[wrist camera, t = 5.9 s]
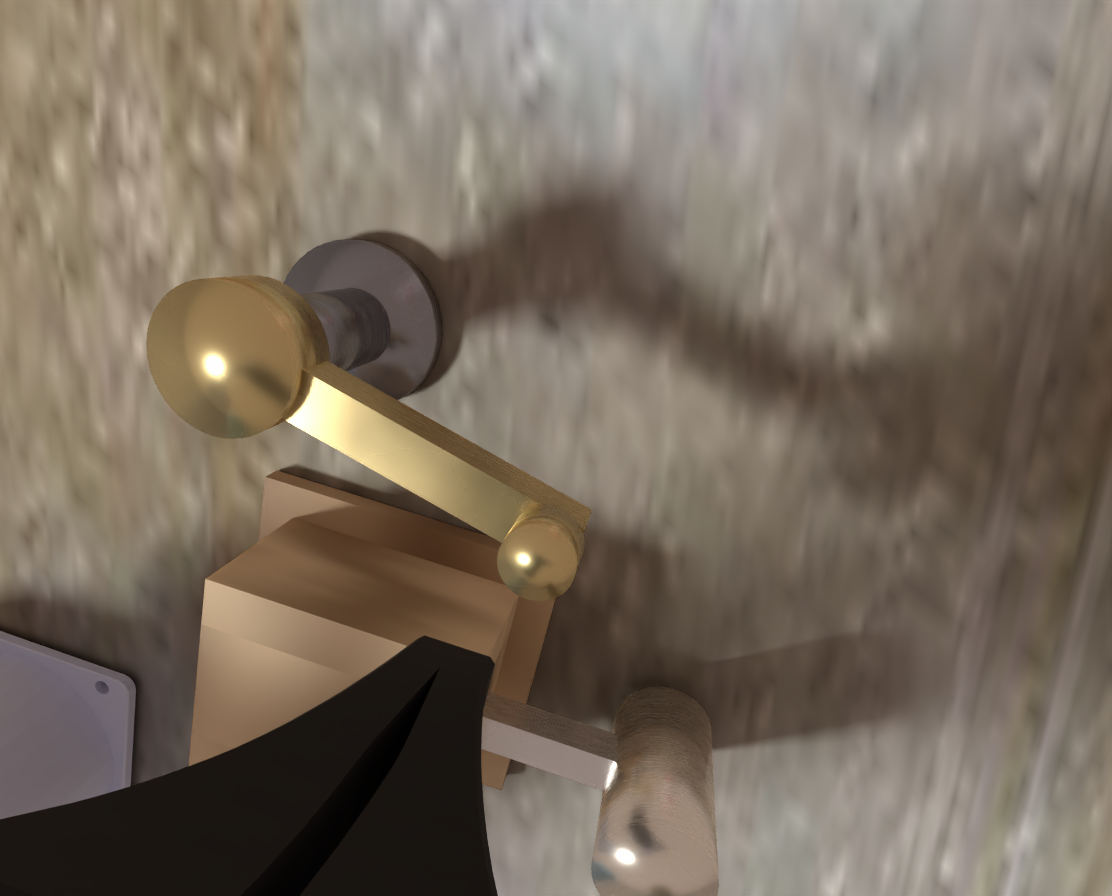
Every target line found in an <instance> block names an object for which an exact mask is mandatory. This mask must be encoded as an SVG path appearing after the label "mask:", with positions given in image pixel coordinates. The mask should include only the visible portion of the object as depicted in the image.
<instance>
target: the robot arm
mask: <svg viewBox="0 0 1112 896" xmlns="http://www.w3.org/2000/svg"><path fill="white" fill-rule="evenodd" d="M494 667H495V664H494V662H493V660H492V659H491V657H489V656H486V655H483V654H480V653H477V652H474V651H471V650H468V649H465V648H462V647H459V646H456V645H453V644H450V643H447V642H443V641H440V640H437V639H434V638H431V637H428V636H425V635H424V636H422V637H420V638H418V639H416V640H415V641H414V642H412V643H411V644H410V645H408V646H407V647H406V648H404V649H403V650H401V651H400V652H399V653H397V654H396V655H395V656H393V657H392V658H390V659H389V660H388V661H386V662H385V663H383V664H382V665H380V666H379V667H378V668H376V669H375V670H373V671H372V672H370V673H369V674H367V675H366V676H364V677H363V678H361V679H360V680H358V681H356V682H355V683H353V684H352V685H350V686H349V687H347V688H346V689H344V690H343V691H341V692H339V693H338V694H336V695H335V696H333V697H331V698H330V699H328V700H326V701H324V702H323V703H321V704H319V705H317V706H316V707H314V708H312V709H310V710H309V711H307V712H305V713H303V714H302V715H300V716H298V717H296V718H295V719H293V720H291V721H289V722H287V723H285V724H283V725H281V726H280V727H278V728H276V729H274V730H272V731H270V732H268V733H266V734H264V735H262V736H260V737H257V738H255V739H253V740H251V741H249V742H247V743H244V744H242V745H240V746H238V747H236V748H233V749H231V750H229V751H226V752H224V753H222V754H219V755H217V756H214V757H212V758H209V759H206V760H204V761H201V762H199V763H196V764H193V765H191V766H188V767H185V768H183V769H180V770H178V771H175V772H172V773H170V774H167V775H164V776H161V777H158V778H155V779H152V780H149V781H146V782H142V783H139V784H136V785H133V786H131V770H132V752H133V734H134V717H135V699H136V688H135V684H134V682H133V680H132V679H131V678H130V677H128V676H126V675H124V674H121V673H119V672H116V671H113V670H110V669H107V668H104V667H102V666H99V665H96V664H93V663H90V662H87V661H84V660H82V659H79V658H76V657H73V656H70V655H67V654H65V653H62V652H59V651H56V650H53V649H50V648H48V647H45V646H42V645H39V644H36V643H33V642H30V641H28V640H25V639H22V638H19V637H16V636H13V635H11V634H8V633H5V632H2V631H0V896H498V895H497V890H496V886H495V881H494V877H493V871H492V865H491V859H490V853H489V846H488V840H487V832H486V824H485V815H484V804H483V791H482V768H481V744H482V719H483V709H484V706H485V702H486V698H487V694H488V690H489V686H490V682H491V678H492V674H493V671H494Z"/></svg>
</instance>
